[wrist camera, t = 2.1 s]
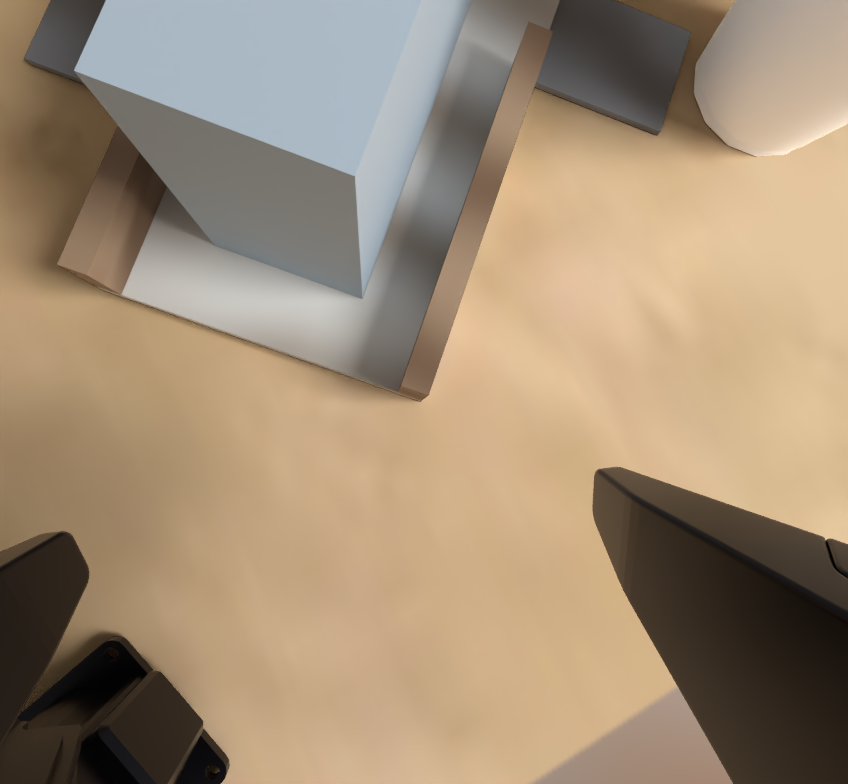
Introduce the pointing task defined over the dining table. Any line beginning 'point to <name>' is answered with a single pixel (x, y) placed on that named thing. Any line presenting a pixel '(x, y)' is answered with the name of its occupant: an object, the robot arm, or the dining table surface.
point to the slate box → (278, 116)
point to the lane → (418, 204)
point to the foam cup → (775, 74)
